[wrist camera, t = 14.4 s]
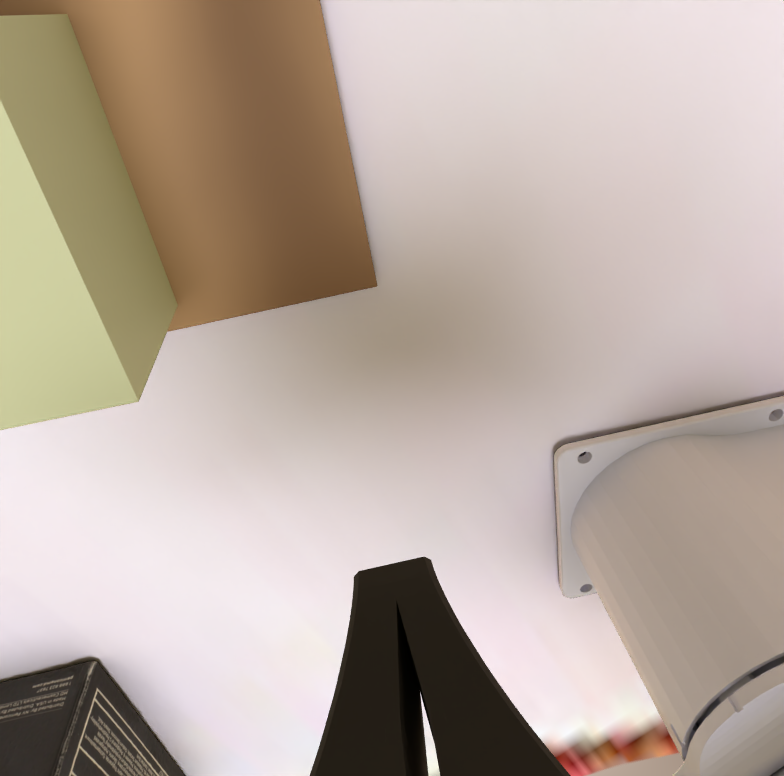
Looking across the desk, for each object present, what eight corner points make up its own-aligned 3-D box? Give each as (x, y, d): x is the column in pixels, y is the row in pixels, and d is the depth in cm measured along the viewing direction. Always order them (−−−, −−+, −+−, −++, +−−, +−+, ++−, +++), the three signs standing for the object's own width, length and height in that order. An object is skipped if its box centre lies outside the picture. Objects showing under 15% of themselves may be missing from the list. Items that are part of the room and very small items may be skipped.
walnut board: (297, -107, 13) (297, -111, 13) (374, 278, 18) (377, 286, 18) (-444, 45, 13) (-475, 46, 13) (-169, 395, 18) (-182, 406, 17)
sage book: (67, 14, 14) (-38, 16, 9) (177, 305, 17) (138, 401, 13) (-117, 49, 13) (-308, 68, 9) (34, 334, 17) (-53, 441, 13)
